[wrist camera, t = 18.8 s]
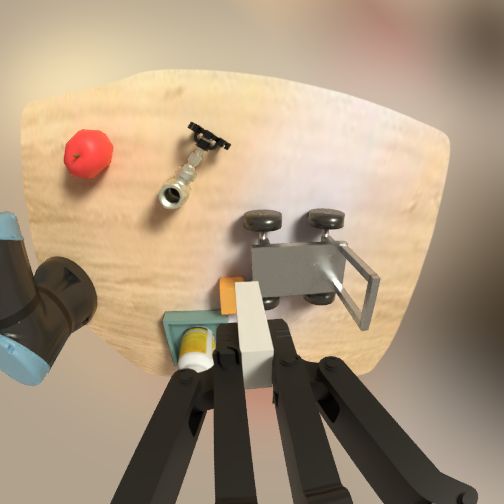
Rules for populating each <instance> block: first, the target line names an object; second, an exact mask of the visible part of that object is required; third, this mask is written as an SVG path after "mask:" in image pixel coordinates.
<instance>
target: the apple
mask: <svg viewBox="0 0 504 504" xmlns="http://www.w3.org/2000/svg"><path fill="white" fill-rule="evenodd" d="M112 152H113V145H112V144H111V142H110V141H109V139H108V137H107V136H106V134H104V133H103V132H101V131H99V130H84V129H83V130H80V131H78V132H77V133H76V134H75V135H74V136H73V137H72V138H71V139H70V140H69V141H68V142H67V143H66V147H65V154H64V163H65V165H66V167H67V168H68V170H69V172H70V173H71V175H72V176H73V177H80V178H88V179H93V178H94V177H95V176H96V175H97V174H99V173H100V172H101V171H102V170H103V169H104V168H105V167H107V166H108V165H109V164H110V163H111V158H112Z"/></svg>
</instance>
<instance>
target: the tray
mask: <svg viewBox="0 0 504 504" xmlns="http://www.w3.org/2000/svg"><path fill="white" fill-rule="evenodd" d="M220 323H228V314H224V315H222V312H221V310H206V311H168V312H165V315H164V318H163V324H164V329H165V333H166V337H167V341H168V344H169V348H170V352H171V356H172V359H173V363H174V366H178V361H179V355H180V349H181V343H182V337H183V334H184V332H185V330H187V329H188V328H189V327H192V326H204V327H206V328H208V329H210V330H211V331H212V332H213V333H214V335H215V338H216V329H217V327H218V326H219V324H220Z"/></svg>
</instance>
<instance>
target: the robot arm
mask: <svg viewBox="0 0 504 504" xmlns="http://www.w3.org/2000/svg"><path fill="white" fill-rule="evenodd" d="M235 294H236V312H237V323H220V324H219V326H218V327H217V329H216V349H215V350H214V351H213V354H212V356H213V363H214V365H213V366H212V367H211V368H209V369H208V370H205V371H202V372H196V371H195V370H193V369H190V368H184V369H180V370H178V371H176V372H175V373H174V374H173V375H172V377H171V379H170V381H169V383H168V385H167V387H166V389H165V391H164V393H163V395H162V397H161V399H160V401H159V403H158V405H157V407H156V410H155V411H154V414H153V415H152V418H151V419H150V421H149V424H148V426H147V428H146V430H145V432H144V434H143V436H142V438H141V440H140V442H139V444H138V446H137V448H136V450H135V453H134V455H133V457H132V459H131V461H130V463H129V465H128V467H127V469H126V471H125V474H124V475H123V478H122V480H121V482H120V484H119V486H118V488H117V490H116V492H115V495H114V497H113V499H112V501H111V503H110V504H175V503H176V500H177V497H178V494H179V491H180V489H181V485H182V483H183V480H184V477H185V474H186V471H187V468H188V465H189V463H190V460H191V456H192V454H193V450H194V448H195V445H196V442H197V439H198V436H199V433H200V430H201V427H202V424H203V421H204V419H205V415H206V413H207V410H210V409H214V470H215V504H258V503H257V496H256V488H255V480H254V472H253V463H252V455H251V447H250V437H249V427H248V418H247V409H246V399H245V389H255V388H266V387H272V384H273V403H275V408H276V414H277V419H278V424H279V430H280V435H281V440H282V446H283V451H284V456H285V461H286V467H287V472H288V476H289V482H290V487H291V492H292V498H293V502H294V504H353V502H352V498H351V495H350V493H349V491H348V490H347V489H346V488H345V487H343V486H342V484H341V481H340V478H339V474H338V471H337V468H336V465H335V461H334V458H333V455H332V452H331V448H330V445H329V442H328V439H327V436H326V433H325V429H324V426H323V423H322V420H321V417H320V414H321V415H322V417H323V418H324V420H325V421H326V423H327V424H328V426H329V427H330V429H331V430H332V432H333V433H334V434H335V436H336V437H337V439H338V440H339V442H340V443H341V445H342V446H343V448H344V449H345V450H346V452H347V453H348V455H349V456H350V458H351V459H352V460H353V462H354V463H355V465H356V466H357V467H358V469H359V470H360V472H361V473H362V474H363V476H364V477H365V479H366V480H367V481H368V483H369V484H370V485H371V487H372V488H373V489H374V491H375V492H376V494H377V495H378V496H379V498H380V499H381V500H382V502H383V503H384V504H476V503H477V500H478V493H477V491H476V489H474V488H473V487H471V486H469V485H467V484H465V483H462V482H460V481H458V480H456V479H454V478H452V477H449V476H447V475H445V474H443V473H441V472H440V471H439V470H438V469H437V468H436V467H435V465H434V464H433V463H432V462H431V461H430V460H429V459H428V458H427V457H426V455H425V454H424V453H423V452H422V451H421V450H420V448H419V447H418V446H417V445H416V444H415V443H414V442H413V440H412V439H411V438H410V437H409V436H408V435H407V434H406V432H405V431H404V430H403V429H402V428H401V427H400V426H399V424H398V423H397V422H396V421H395V420H394V419H393V418H392V416H391V415H390V414H389V413H388V412H387V411H386V410H385V408H384V407H383V406H382V405H381V404H380V403H379V402H378V400H377V399H376V398H375V397H374V396H373V395H372V394H371V392H370V391H369V390H368V389H367V388H366V387H365V386H364V384H363V383H362V382H361V381H360V380H359V379H358V377H357V376H356V375H355V374H354V373H353V372H352V371H351V369H350V368H349V367H348V366H347V365H346V364H345V363H344V361H342V360H341V359H340V358H337V357H333V356H329V357H325V358H323V359H321V360H320V362H319V363H315V362H308V361H305V360H303V359H301V357H300V356H299V355H297V353H296V350H295V347H294V343H293V340H292V337H291V334H290V331H289V328H288V325H287V323H286V322H285V321H284V320H283V319H274V320H267V318H266V314H265V310H264V305H263V301H262V296H261V292H260V288H259V283H258V281H252V282H235ZM96 308H97V295H96V291H95V288H94V286H93V283H92V282H91V280H90V278H89V277H88V275H87V274H86V273H85V271H84V270H83V269H82V268H81V267H80V266H78V265H77V264H76V263H74V262H73V261H71V260H69V259H67V258H64V257H51V258H49V259H47V260H46V261H45V262H43V263H42V264H41V265H40V266H39V267H38V269H37V270H36V272H35V275H34V276H33V273H32V270H31V266H30V264H29V260H28V256H27V253H26V249H25V245H24V238H23V237H22V235H21V231H20V228H19V224H18V220H17V218H16V216H15V215H14V214H13V213H11V212H0V369H1V370H2V371H3V372H4V373H6V374H7V375H8V376H10V377H11V378H13V379H15V380H16V381H18V382H20V383H22V384H25V385H30V386H35V385H38V384H40V383H41V382H42V380H43V379H44V377H45V376H46V374H47V373H48V372H49V371H50V369H51V367H52V365H53V363H54V361H55V360H56V358H57V356H58V354H59V353H60V351H61V349H62V347H63V346H64V344H65V342H66V340H67V339H68V337H69V336H70V334H71V333H73V332H74V331H76V330H78V329H79V328H81V327H82V326H84V325H86V324H87V323H88V322H89V321H90V320H91V318H92V316H93V315H94V313H95V311H96ZM319 412H320V414H319Z"/></svg>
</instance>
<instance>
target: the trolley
mask: <svg viewBox="0 0 504 504" xmlns="http://www.w3.org/2000/svg"><path fill="white" fill-rule="evenodd" d="M344 216H345V214H344V213H343V212H341V211H338V210H333V209H312V210H310V211H309V225H311V226H313V227H316V228H320V229H323V232H322V236H321V242H303V243H280V244H270V243H269V240H268V238H266V232H269V231H275V230H278V229H280V228H281V227H282V214H281V213H280V212H277V211H273V210H253V211H249V212H246V213H244V228H246V229H247V230H250V231H256V232H260V238H258V245H252V281H258V283H259V288H260V292H261V296H262V301H263V305H264V310H270V309H273V308H275V307H277V306H278V305H279V300H280V296H291V295H303V294H304V299H305V300H306V301H307V302H309V303H311V304H314V305H328V304H331V303H332V302H333V301H334V300H335V295H336V293H337V295H338V296H339V298H340V299H341V301H342V302H343V304H344V305H345V307H346V308H347V310H348V311H349V313H350V314H351V316H352V317H353V319H354V320H355V322H356V324H357V325H358V327H359V328H360V330H361V331H365V330H368V329H369V325H370V321H371V317H372V313H373V309H374V305H375V301H376V296H377V292H378V287H379V283H380V277H379V276H378V275H377V274H376V273H375V272H374V271H373V270H372V269H371V268H370V267H369V266H368V265H367V264H366V263H365V262H364V261H363V260H362V259H361V258H360V257H359V256H358V255H357V254H356V253H354V252H353V251H352V250H351V249H350V248H349V247H348V246H347V245H348V243H347V242H345V241H335V240H334V239H333V238H332V237H331V236H328V235H329V229H340V228H342V227H343V226H344ZM346 259H347V260H348V261H349V262H350V263H351V264H352V265H353V266H354V267H355V268H356V270H357V271H358V272H359V273H360V274H361V275H362V276H363V277H364V278H365V279H366V280H367V281H368V285H367V290H366V295H365V300H364V305H363V309H362V312H361V311H360V309H359V308H358V307H357V305H356V304H355V303H354V301H353V300H352V298H351V297H350V296H349V294H348V293H347V292H346V290H345V289H344V288H343V286H342V283H343V277H344V269H345V262H346Z"/></svg>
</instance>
